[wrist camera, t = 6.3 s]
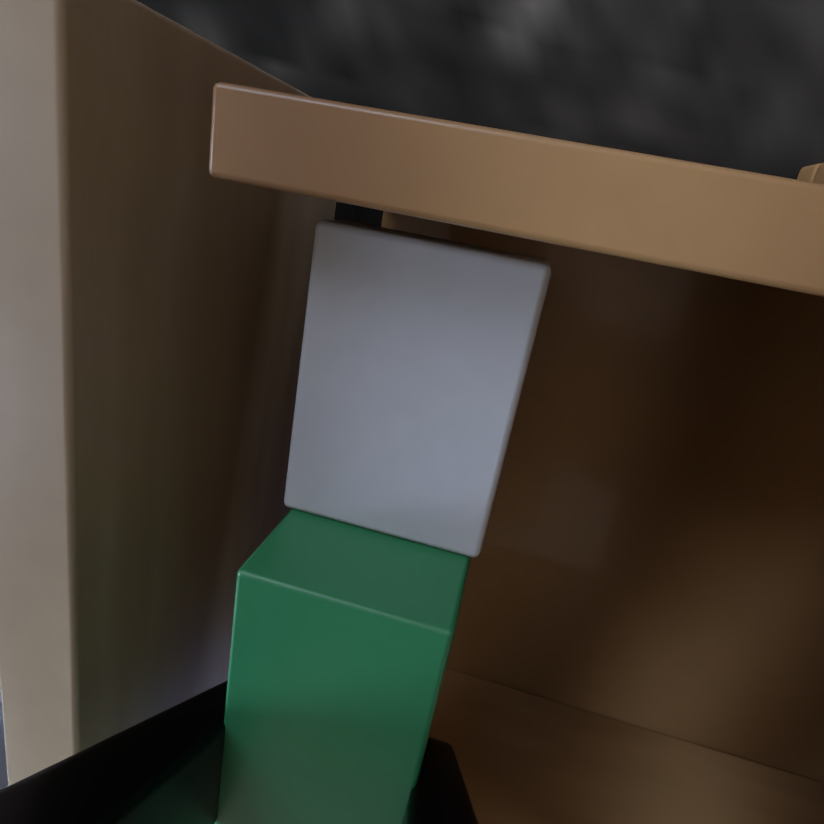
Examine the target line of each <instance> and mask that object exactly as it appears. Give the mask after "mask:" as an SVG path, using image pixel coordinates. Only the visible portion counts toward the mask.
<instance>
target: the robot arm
mask: <svg viewBox="0 0 824 824" xmlns="http://www.w3.org/2000/svg"><path fill="white" fill-rule="evenodd" d="M227 682H228V680H227V681H225V682H223V683H221V684H219V685H217V686H215V687H213V688H211V689H208V690H206V691H204V692H202V693H200V694H198V695H196V696H194V697H192V698H190V699H188V700H186V701H184V702H182V703H179V704H177V705H175V706H173V707H171V708H169V709H167V710H165V711H163V712H161V713H159V714H157V715H155V716H153V717H150V718H148V719H146V720H144V721H142V722H140V723H138V724H136V725H134V726H132V727H130V728H128V729H126V730H124V731H122V732H119V733H117V734H115V735H113V736H111V737H109V738H107V739H105V740H103V741H101V742H99V743H97V744H95V745H93V746H90V747H88V748H86V749H84V750H82V751H80V752H78V753H76V754H74V755H72V756H70V757H68V758H66V759H64V760H61V761H59V762H57V763H55V764H53V765H51V766H49V767H47V768H45V769H43V770H41V771H39V772H37V773H35V774H33V775H30V776H28V777H26V778H24V779H22V780H20V781H18V782H16V783H14V784H12V785H10V786H8V787H6V788H4V789H1V790H0V824H215V822H216V820H217V815H218V804H219V793H220V782H221V771H222V760H223V750H224V739H225V725H224V716H225V705H226V693H227ZM403 824H478V821H477V818H476V815H475V812H474V809H473V806H472V803H471V800H470V797H469V794H468V791H467V788H466V785H465V782H464V779H463V776H462V773H461V770H460V767H459V764H458V761H457V758H456V755H455V752H454V749H453V747H452V745H451V744H450V743H447V742H444V741H441V740H438V739H435V738H432V737H429V738H428V742H427V746H426V750H425V754H424V758H423V762H422V766H421V770H420V774H419V778H418V782H417V785H416V786H415V787H414V788H412V790H411V793H410V797H409V801H408V805H407V809H406V813H405V817H404V821H403Z"/></svg>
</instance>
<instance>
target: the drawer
mask: <svg viewBox="0 0 824 824" xmlns="http://www.w3.org/2000/svg"><path fill="white" fill-rule="evenodd" d="M336 202H341V203H346V204H351V205H356V206H361V207H366V208H372V209H377V210H382V211H383V216H382V223H381V227H384V228H389V229H395V230H400V231H405V232H410V233H415V234H420V235H425V236H430V237H435V238H440V239H445V240H450V241H455V242H460V243H465V244H471V245H476V246H481V247H486V248H491V249H496V250H501V251H506V252H511V253H516V254H521V255H526V256H531V257H536V258H541V259H545V260H547V261H548V262H549V263H550V268H551V277H550V281H549V285H548V289H547V293H546V297H545V301H544V304H543V308H542V312H541V316H540V320H539V324H538V328H537V332H536V336H535V340H534V344H533V348H532V352H531V356H530V360H529V364H528V367H527V371H526V375H525V379H524V383H523V387H522V391H521V395H520V399H519V403H518V407H517V411H516V415H515V419H514V423H513V427H512V430H511V434H510V438H509V442H508V446H507V450H506V454H505V458H504V462H503V466H502V470H501V474H500V478H499V482H498V486H497V490H496V494H495V497H494V501H493V505H492V509H491V513H490V517H489V521H488V525H487V529H486V533H485V537H484V541H483V545H482V549H481V552H480V554H479V555H478V556H477V557H471V559H470V563H469V568H468V573H467V577H466V582H465V587H464V592H463V596H462V601H461V606H460V611H459V615H458V620H457V625H456V630H455V634H454V638H453V642H452V646H451V650H450V654H449V658H448V662H447V666H446V670H445V674H444V678H443V682H442V686H441V690H440V694H439V698H438V702H437V706H436V710H435V714H434V718H433V722H432V726H431V730H430V734H429V737H432V738H435V739H438V740H441V741H444V742H447V743H450V744H451V745H452V747H453V749H454V752H455V755H456V758H457V761H458V764H459V767H460V770H461V773H462V776H463V779H464V782H465V785H466V788H467V791H468V794H469V797H470V800H471V803H472V806H473V809H474V812H475V815H476V818H477V821H478V824H824V184H820V183H814V182H808V181H802V180H796V179H790V178H784V177H779V176H773V175H767V174H761V173H755V172H749V171H743V170H737V169H732V168H726V167H720V166H714V165H708V164H702V163H696V162H690V161H684V160H679V159H673V158H667V157H661V156H655V155H649V154H643V153H637V152H632V151H626V150H620V149H614V148H608V147H602V146H596V145H590V144H585V143H579V142H573V141H567V140H561V139H555V138H549V137H543V136H538V135H532V134H526V133H520V132H514V131H508V130H502V129H496V128H491V127H485V126H479V125H473V124H467V123H461V122H455V121H449V120H444V119H438V118H432V117H426V116H420V115H414V114H408V113H402V112H397V111H391V110H385V109H379V108H373V107H367V106H361V105H355V104H349V103H344V102H338V101H332V100H326V99H320V98H314V97H310V96H308V95H307V94H305V93H303V92H301V91H299V90H298V89H296V88H294V87H292V86H290V85H289V84H287V83H285V82H283V81H281V80H279V79H278V78H276V77H274V76H272V75H270V74H269V73H267V72H265V71H263V70H261V69H259V68H258V67H256V66H254V65H252V64H250V63H249V62H247V61H245V60H243V59H241V58H240V57H238V56H236V55H234V54H232V53H230V52H229V51H227V50H225V49H223V48H221V47H220V46H218V45H216V44H214V43H212V42H211V41H209V40H207V39H205V38H203V37H201V36H200V35H198V34H196V33H194V32H192V31H191V30H189V29H187V28H185V27H183V26H182V25H180V24H178V23H176V22H174V21H172V20H171V19H169V18H167V17H165V16H163V15H162V14H160V13H158V12H156V11H154V10H153V9H151V8H149V7H147V6H145V5H143V4H142V3H140V2H138V1H136V0H0V688H1V700H2V713H3V726H4V739H5V751H6V764H7V777H8V786H10V785H12V784H14V783H16V782H18V781H20V780H22V779H24V778H26V777H28V776H30V775H33V774H35V773H37V772H39V771H41V770H43V769H45V768H47V767H49V766H51V765H53V764H55V763H57V762H59V761H61V760H64V759H66V758H68V757H70V756H72V755H74V754H76V753H78V752H80V751H82V750H84V749H86V748H88V747H90V746H93V745H95V744H97V743H99V742H101V741H103V740H105V739H107V738H109V737H111V736H113V735H115V734H117V733H119V732H122V731H124V730H126V729H128V728H130V727H132V726H134V725H136V724H138V723H140V722H142V721H144V720H146V719H148V718H150V717H153V716H155V715H157V714H159V713H161V712H163V711H165V710H167V709H169V708H171V707H173V706H175V705H177V704H179V703H182V702H184V701H186V700H188V699H190V698H192V697H194V696H196V695H198V694H200V693H202V692H204V691H206V690H208V689H211V688H213V687H215V686H217V685H219V684H221V683H223V682H225V681H227V680H228V671H229V660H230V649H231V638H232V627H233V615H234V604H235V593H236V582H237V573H238V570H239V569H240V568H241V567H242V565H243V564H244V563H245V562H246V561H247V560H248V559H249V557H250V556H251V555H252V554H253V553H254V552H255V551H256V549H257V548H258V547H259V546H260V545H261V544H262V543H263V541H264V540H265V539H266V538H267V537H268V536H269V535H270V533H271V532H272V531H273V530H274V529H275V528H276V527H277V525H278V524H279V523H280V522H281V521H282V520H283V519H284V517H285V516H286V515H287V514H288V513H289V512H290V511H291V509H292V508H289V507H287V506H286V505H285V503H284V497H285V488H286V480H287V471H288V463H289V454H290V445H291V437H292V428H293V420H294V411H295V402H296V394H297V385H298V377H299V368H300V359H301V351H302V342H303V334H304V325H305V316H306V308H307V299H308V290H309V282H310V273H311V265H312V256H313V247H314V239H315V230H316V225H317V223H318V222H319V221H321V220H334V216H335V208H336Z"/></svg>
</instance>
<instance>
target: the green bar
mask: <svg viewBox="0 0 824 824" xmlns="http://www.w3.org/2000/svg"><path fill="white" fill-rule="evenodd" d="M550 277H551V268H550V263H549V262H548V261H547V260H545V259H541V258H536V257H531V256H526V255H521V254H516V253H511V252H506V251H501V250H496V249H491V248H486V247H481V246H476V245H471V244H465V243H460V242H455V241H450V240H445V239H440V238H435V237H430V236H425V235H420V234H415V233H410V232H405V231H400V230H395V229H389V228H384V227H379V226H374V225H369V224H364V223H359V222H354V221H349V220H321V221H319V222H318V223H317V225H316V230H315V239H314V247H313V256H312V265H311V273H310V282H309V290H308V299H307V308H306V316H305V325H304V334H303V342H302V351H301V359H300V368H299V377H298V385H297V394H296V402H295V411H294V420H293V428H292V437H291V445H290V454H289V463H288V471H287V480H286V488H285V497H284V503H285V505H286V506H287V507H289V508H292V509H291V511H290V512H289V513H288V514H287V515H286V516H285V517H284V519H283V520H282V521H281V522H280V523H279V524H278V525H277V527H276V528H275V529H274V530H273V531H272V532H271V533H270V535H269V536H268V537H267V538H266V539H265V540H264V541H263V543H262V544H261V545H260V546H259V547H258V548H257V549H256V551H255V552H254V553H253V554H252V555H251V556H250V557H249V559H248V560H247V561H246V562H245V563H244V564H243V565H242V567H241V568H240V569H239V570H238V573H237V582H236V593H235V604H234V615H233V627H232V638H231V649H230V660H229V671H228V682H227V693H226V705H225V716H224V725H225V739H224V750H223V760H222V771H221V782H220V793H219V804H218V815H217V820H216V822H215V824H403V821H404V817H405V813H406V809H407V805H408V801H409V797H410V793H411V790H412V788H414V787H415V786H416V785H417V782H418V778H419V774H420V770H421V766H422V762H423V758H424V754H425V750H426V746H427V742H428V738H429V734H430V730H431V726H432V722H433V718H434V714H435V710H436V706H437V702H438V698H439V694H440V690H441V686H442V682H443V678H444V674H445V670H446V666H447V662H448V658H449V654H450V650H451V646H452V642H453V638H454V634H455V630H456V625H457V620H458V615H459V611H460V606H461V601H462V596H463V592H464V587H465V582H466V577H467V573H468V568H469V563H470V559H471V557H477V556H478V555H479V554H480V552H481V549H482V545H483V541H484V537H485V533H486V529H487V525H488V521H489V517H490V513H491V509H492V505H493V501H494V497H495V494H496V490H497V486H498V482H499V478H500V474H501V470H502V466H503V462H504V458H505V454H506V450H507V446H508V442H509V438H510V434H511V430H512V427H513V423H514V419H515V415H516V411H517V407H518V403H519V399H520V395H521V391H522V387H523V383H524V379H525V375H526V371H527V367H528V364H529V360H530V356H531V352H532V348H533V344H534V340H535V336H536V332H537V328H538V324H539V320H540V316H541V312H542V308H543V304H544V301H545V297H546V293H547V289H548V285H549V281H550Z"/></svg>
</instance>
